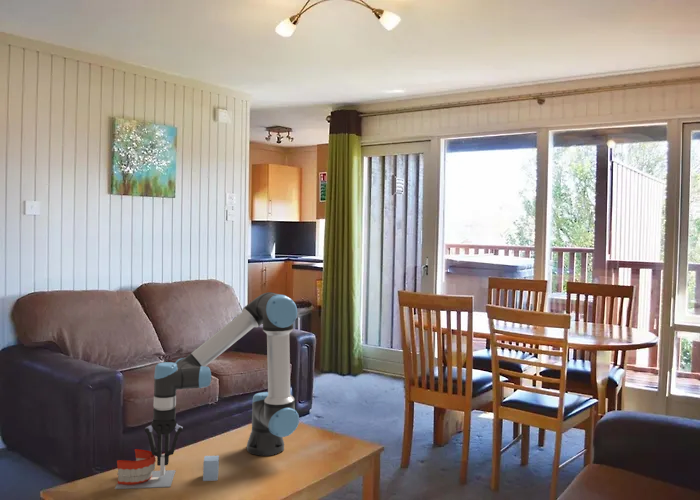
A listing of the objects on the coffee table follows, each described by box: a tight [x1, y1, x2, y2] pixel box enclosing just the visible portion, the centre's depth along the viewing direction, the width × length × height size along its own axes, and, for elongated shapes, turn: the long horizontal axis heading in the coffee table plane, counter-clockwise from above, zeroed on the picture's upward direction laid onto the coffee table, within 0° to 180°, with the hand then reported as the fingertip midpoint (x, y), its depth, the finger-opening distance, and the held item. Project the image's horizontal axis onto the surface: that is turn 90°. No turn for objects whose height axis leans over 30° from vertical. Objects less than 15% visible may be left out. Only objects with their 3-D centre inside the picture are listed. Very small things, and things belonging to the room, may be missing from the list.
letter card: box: [114, 469, 176, 490], centre depth 206 cm, size 18×14×1 cm
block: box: [202, 455, 220, 482], centre depth 209 cm, size 5×5×7 cm
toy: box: [116, 448, 157, 485], centre depth 205 cm, size 12×10×8 cm
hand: (162, 474), depth 206 cm, fingers closed
